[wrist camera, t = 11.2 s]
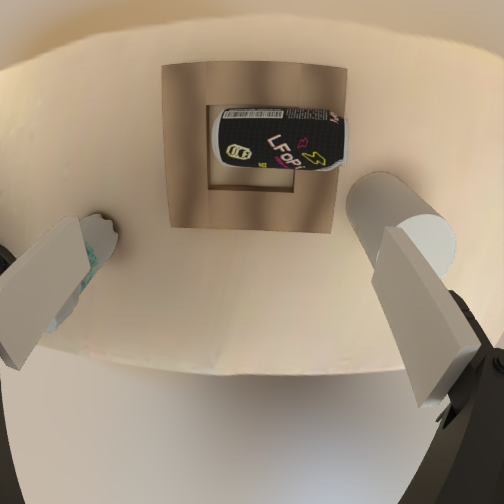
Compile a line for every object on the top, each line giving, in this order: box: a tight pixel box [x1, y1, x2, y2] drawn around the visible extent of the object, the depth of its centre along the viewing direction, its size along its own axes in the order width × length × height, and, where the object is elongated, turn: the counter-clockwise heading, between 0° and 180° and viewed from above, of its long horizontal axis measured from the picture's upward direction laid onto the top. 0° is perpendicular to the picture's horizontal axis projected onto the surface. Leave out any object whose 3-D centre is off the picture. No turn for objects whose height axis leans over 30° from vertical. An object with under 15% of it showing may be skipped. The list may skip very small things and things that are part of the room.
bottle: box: [45, 214, 118, 333], centre depth 29 cm, size 7×7×20 cm
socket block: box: [162, 61, 347, 234], centre depth 30 cm, size 18×18×2 cm
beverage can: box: [212, 108, 348, 172], centre depth 27 cm, size 6×6×12 cm
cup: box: [346, 172, 456, 280], centre depth 29 cm, size 8×8×12 cm
